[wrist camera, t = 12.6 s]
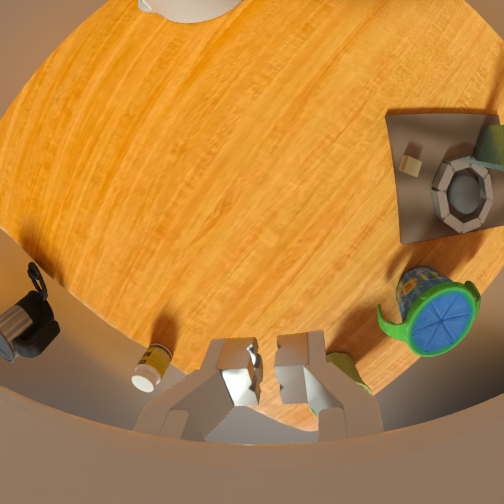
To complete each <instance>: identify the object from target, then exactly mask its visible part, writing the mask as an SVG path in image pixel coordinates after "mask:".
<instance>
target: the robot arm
mask: <svg viewBox="0 0 504 504" xmlns="http://www.w3.org/2000/svg"><path fill="white" fill-rule="evenodd" d="M241 1H242V0H139V1H138V7H139V9H140V10H141V11H143V12H150V13H157V14H160V15H161V16H163V17H164V18H166V19H168V20H171V21H174V22H179V23H196V22H202V21H206V20H210V19H213V18H215V17H218V16H220V15H222V14H224V13H226V12H228V11H230V10H231V9H233V8H234V7H235V6H237V5H238V4H239V3H240V2H241ZM277 346H278V350H277V351H276V355H275V366H274V367H275V372H276V377H277V382H278V383H280V395H281V399H282V403H283V404H297V403H308V404H309V406H310V407H311V408H312V409H313V411H314V412H315V413H316V415H317V416H318V417H319V442H311V443H295V444H260V445H259V444H228V443H212V442H206V441H205V439H204V438H205V437H206V436H207V435H208V434H209V433H210V432H211V431H212V430H213V429H214V428H215V427H216V426H217V425H218V424H219V423H220V422H221V421H222V420H223V419H224V417H225V416H226V415H227V414H228V413H229V412H230V411H231V410H232V409H233V408H234V406H248V405H259V399H260V393H261V390H260V386H259V384H260V383H261V382H262V379H263V363H262V358H261V355H259V354H258V347H259V346H258V342H257V339H256V338H255V337H246V338H227V339H226V338H224V339H213V340H212V341H211V342H210V345H209V347H208V350H207V352H206V355H205V357H204V360H203V362H202V365H201V367H200V370H195V371H193V372H192V373H191V374H189V375H188V376H186V377H185V378H184V379H182V380H181V381H180V382H178V383H177V384H175V385H174V386H172V387H171V388H170V389H168V390H167V391H165V392H164V393H162V394H161V395H160V396H158V397H157V398H155V399H154V400H152V401H151V402H149V403H148V404H146V405H145V407H144V409H143V411H142V413H141V415H140V417H139V419H138V421H137V423H136V425H135V427H134V429H133V431H130V430H126V429H121V428H117V427H113V426H109V425H105V424H101V423H98V422H94V421H91V420H87V419H84V418H81V417H78V416H74V415H71V414H68V413H65V412H62V411H59V410H57V409H54V408H51V407H48V406H46V405H44V404H41V403H38V402H36V401H33V400H31V399H29V398H26V397H24V396H22V395H20V394H17V393H15V392H13V391H11V390H9V389H7V388H5V387H2V386H0V504H504V394H501V395H499V396H497V397H495V398H492V399H490V400H488V401H485V402H483V403H480V404H478V405H476V406H473V407H470V408H468V409H465V410H462V411H460V412H456V413H454V414H451V415H448V416H445V417H441V418H438V419H435V420H432V421H428V422H424V423H421V424H417V425H414V426H409V427H406V428H401V429H397V430H393V431H388V432H384V429H383V424H382V419H381V414H380V410H379V405H378V400H377V399H376V398H374V397H373V396H372V395H371V394H369V393H368V392H367V391H366V390H364V389H363V388H362V387H361V386H360V385H358V384H357V383H356V382H355V381H354V380H352V379H351V378H350V377H349V376H347V375H346V374H345V373H344V372H343V371H341V370H340V369H339V368H338V367H337V366H335V365H334V364H333V363H332V362H327V360H326V350H325V341H324V332H323V330H316V331H309V332H305V333H296V334H287V335H278V337H277Z"/></svg>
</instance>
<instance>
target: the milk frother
mask: <svg viewBox="0 0 504 504" xmlns="http://www.w3.org/2000/svg"><path fill="white" fill-rule="evenodd" d="M28 268H29V269H28V271H27V272H28V275H29V277H30V278H31V279H32V282H33V284H34V286H35V288H36V289H37V290H38V292H39V293H38V292H37V291H33V290H32V291H30V292H29V293H28V294H27V295H26V296H25V297H24V298H22V299H21V300H20V301H19V302H17V303H16V304H15V305H13V306H12V307H11V308H9V309H8V310H7V311H6V312H4V313H3V314H1V315H0V355H1V356H2V357H3V358H4V359H5V360H7V361H8V362H11V363H13V362H14V358H15V357H16V356H18V354H20V355H22V356H24V357H28V358H33V357H36V356H38V355H40V354H41V353H42V352H43V351H44V350H45V348H46V347H47V346H48V345H49V344H50V343H51V341H53V339H54V338H55V337H56V336H57V335H58V334H59V332H60V328H59V324H58V322H57V321H55V320H54V315H53V311H52V309H51V307H50V305H49V303H48V302H47V300H46V299H47V296H48V294H47V289H46V285H45V283H44V280H43V278H42V275H41V273H40V271H39V269H38V267H37V266H36V265H35V263H34V262H30V263H29V265H28ZM35 279H37V280H39V282H40V285H41V287H42V290H41V289H40V287H39V285H38V284H37V282H36V280H35Z"/></svg>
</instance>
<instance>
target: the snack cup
mask: <svg viewBox="0 0 504 504" xmlns="http://www.w3.org/2000/svg"><path fill="white" fill-rule="evenodd" d="M396 300H397V303H398V307H399V310H400V314H401V318H402V323H400V324H395V323H393V322H391V321H388V320H386V319H384V318H383V317H382V313H381V310H380V309H381V308H380V304H378V306H377V314H378V324H379V326H380V328H381V329H382V330H383V331H384V332H385V333H386V334H387V335H389V336H390V337H392V338H394V339H397V340H400V341H404V342H406V343H407V344H408V346H409V348H410V349H411V350H412V351H413V352H414V353H415V354H417V355H420V356H425V357H432V356H437V355H440V354H443V353H445V352H447V351H448V350H450V349H452V348H453V347H455V346H456V345H457V344H458V343H459V342H460V341H461V340H462V339H463V338H464V336H466V334H467V333H468V331H469V330H470V328H471V325H472V323H473V321H474V319H475V317H476V316H477V314H478V311H479V307H480V300H481V296H480V294H479V292H478V290H477V288H476V287H475V285H474V284H473V283H472V282H471V281H466V282H465V284H462V283H459V282H453V281H452V280H450V279H449V278H447V277H446V276H444V275H443V274H441V273H439V272H438V271H436V270H434V269H432V268H430V267H428V266H418V267H416V268H414V269H412V270H410V271H408V272H406V273H404V276H403V278H402V279H401V280H400V282H399V284H398V287H397V291H396Z"/></svg>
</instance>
